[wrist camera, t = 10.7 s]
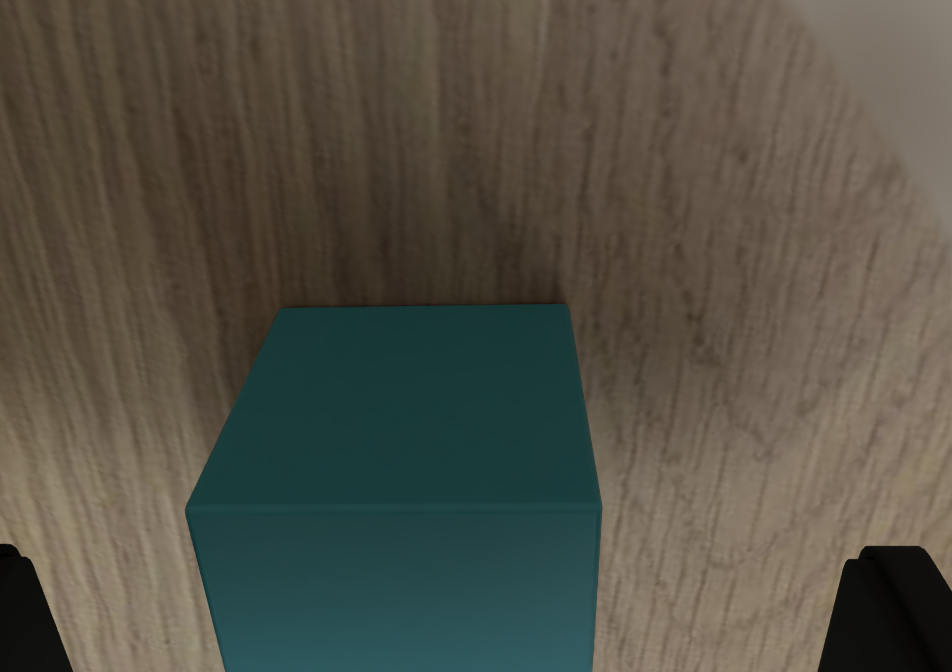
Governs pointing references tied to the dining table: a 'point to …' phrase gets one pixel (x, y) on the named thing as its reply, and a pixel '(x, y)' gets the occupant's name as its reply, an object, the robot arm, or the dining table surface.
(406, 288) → the dining table surface
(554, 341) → the teal block
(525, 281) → the dining table surface
